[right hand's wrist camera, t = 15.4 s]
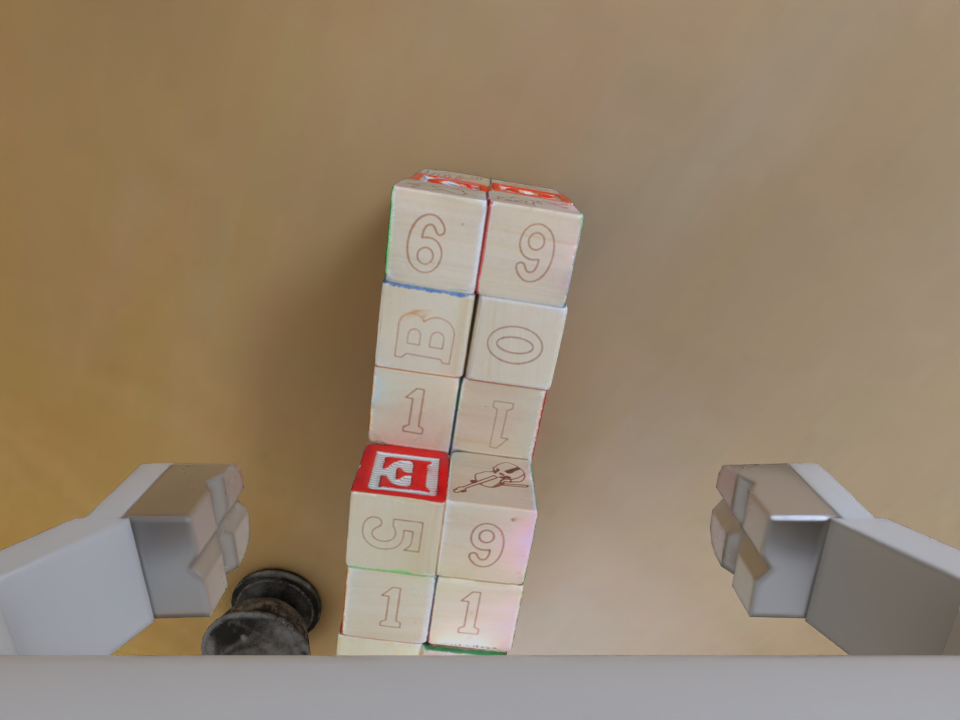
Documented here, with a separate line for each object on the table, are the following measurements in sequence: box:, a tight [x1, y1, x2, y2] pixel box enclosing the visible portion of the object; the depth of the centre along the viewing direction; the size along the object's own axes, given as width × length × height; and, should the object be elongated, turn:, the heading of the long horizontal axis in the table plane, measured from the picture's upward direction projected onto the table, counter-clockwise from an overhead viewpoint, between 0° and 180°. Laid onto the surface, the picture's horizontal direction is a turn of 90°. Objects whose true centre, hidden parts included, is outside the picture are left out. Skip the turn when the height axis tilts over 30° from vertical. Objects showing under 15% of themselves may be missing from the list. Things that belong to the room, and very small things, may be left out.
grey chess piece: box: [201, 570, 321, 655], centre depth 30 cm, size 6×6×12 cm
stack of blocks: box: [336, 169, 584, 655], centre depth 25 cm, size 21×6×12 cm, turn 171°
